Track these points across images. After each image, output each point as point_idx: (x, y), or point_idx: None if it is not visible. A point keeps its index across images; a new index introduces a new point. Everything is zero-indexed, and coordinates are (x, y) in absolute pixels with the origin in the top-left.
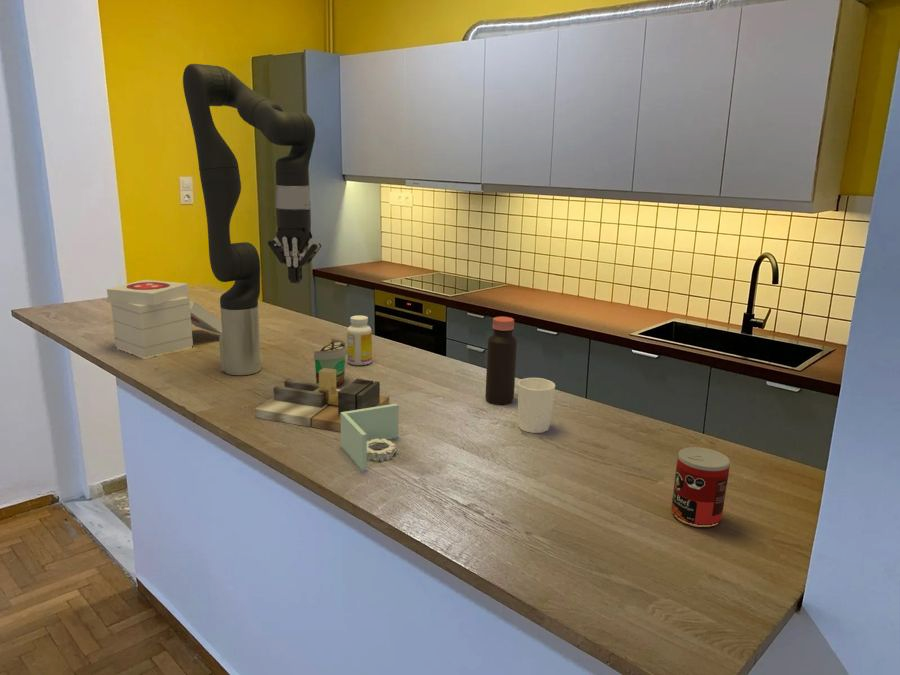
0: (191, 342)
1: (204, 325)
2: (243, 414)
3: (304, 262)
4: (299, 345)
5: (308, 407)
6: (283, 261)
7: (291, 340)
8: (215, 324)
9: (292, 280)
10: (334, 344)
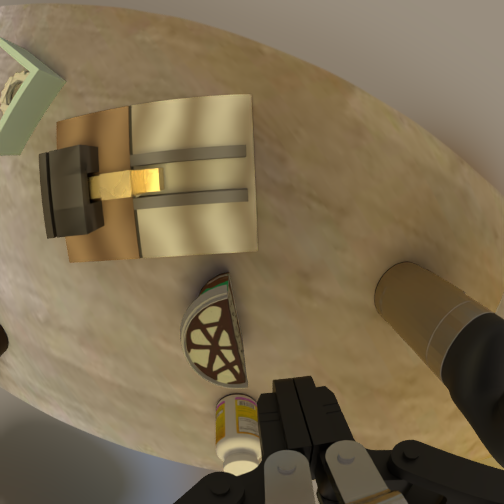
0: None
1: None
2: (278, 102)
3: (198, 491)
4: (366, 417)
5: (160, 144)
6: (397, 455)
7: (385, 423)
8: None
9: (297, 383)
10: (230, 372)
